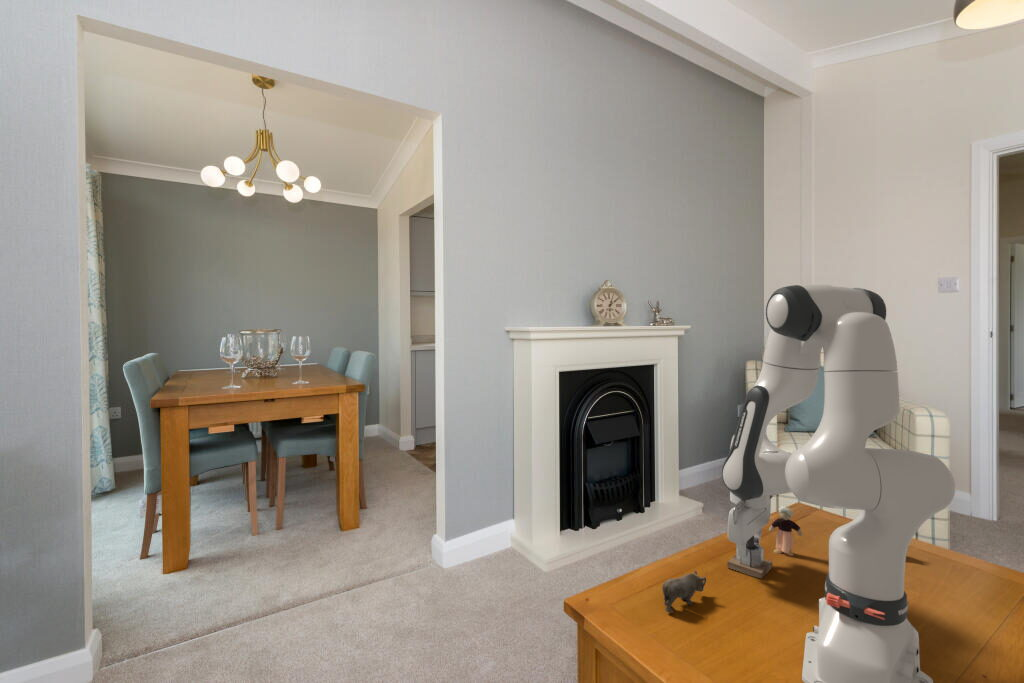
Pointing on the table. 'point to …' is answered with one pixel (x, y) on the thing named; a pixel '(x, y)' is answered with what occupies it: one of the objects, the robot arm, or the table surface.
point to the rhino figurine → (682, 589)
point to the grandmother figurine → (785, 531)
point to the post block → (751, 571)
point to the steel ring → (752, 557)
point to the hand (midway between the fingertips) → (749, 550)
